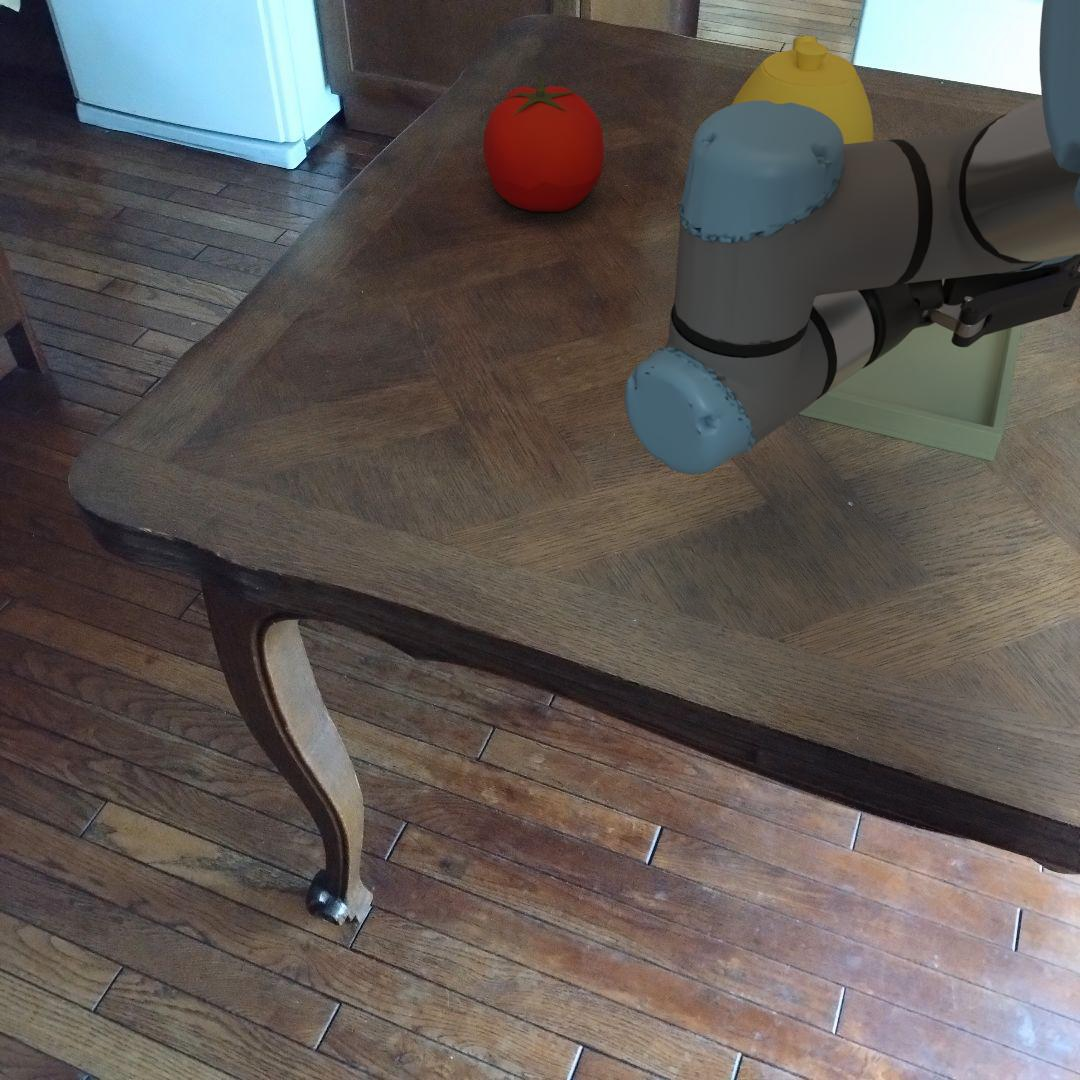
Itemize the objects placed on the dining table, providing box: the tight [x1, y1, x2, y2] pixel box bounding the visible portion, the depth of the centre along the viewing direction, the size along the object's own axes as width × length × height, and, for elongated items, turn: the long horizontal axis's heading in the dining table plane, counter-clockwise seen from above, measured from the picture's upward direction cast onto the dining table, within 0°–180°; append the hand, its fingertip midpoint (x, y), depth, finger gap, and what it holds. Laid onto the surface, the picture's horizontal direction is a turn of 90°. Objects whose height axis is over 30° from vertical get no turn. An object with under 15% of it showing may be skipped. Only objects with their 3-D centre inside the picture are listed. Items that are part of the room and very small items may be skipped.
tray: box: [797, 279, 1023, 462], centre depth 90 cm, size 22×18×3 cm
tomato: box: [482, 74, 605, 213], centre depth 107 cm, size 12×13×12 cm
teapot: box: [730, 35, 874, 144], centre depth 111 cm, size 20×16×14 cm
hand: (1012, 203), depth 77 cm, fingers closed on mug, 11 cm apart
